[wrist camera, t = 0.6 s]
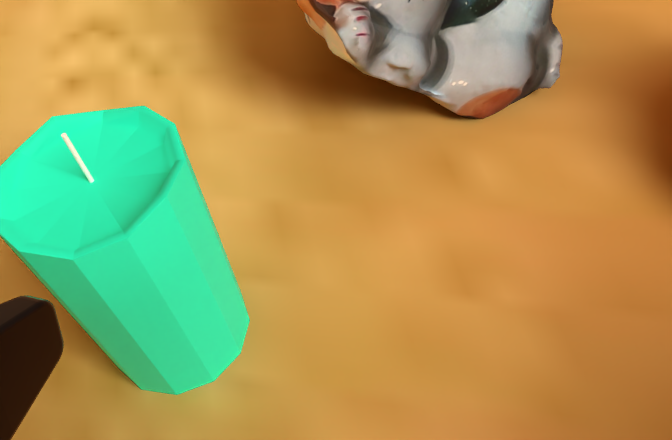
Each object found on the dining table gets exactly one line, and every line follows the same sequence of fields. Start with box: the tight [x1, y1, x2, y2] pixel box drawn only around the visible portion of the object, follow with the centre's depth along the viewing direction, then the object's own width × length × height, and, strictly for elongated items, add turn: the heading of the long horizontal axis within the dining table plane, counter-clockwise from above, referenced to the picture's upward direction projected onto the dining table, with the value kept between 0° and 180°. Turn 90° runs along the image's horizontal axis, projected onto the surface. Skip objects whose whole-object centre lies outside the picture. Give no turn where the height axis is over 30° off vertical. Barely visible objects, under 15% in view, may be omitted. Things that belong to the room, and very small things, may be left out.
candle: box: [0, 106, 250, 395], centre depth 22 cm, size 6×6×12 cm
